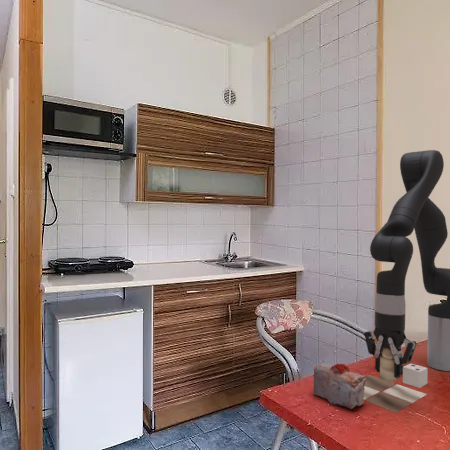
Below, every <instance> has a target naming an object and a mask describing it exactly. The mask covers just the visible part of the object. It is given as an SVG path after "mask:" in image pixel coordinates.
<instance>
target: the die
mask: <svg viewBox="0 0 450 450" xmlns="http://www.w3.org/2000/svg"><path fill="white" fill-rule="evenodd" d="M428 370H429V369H428V367H425V366H421V365H418V364H414V363H407V365H403V375H402V383H403V384H406V385H409V386H412V387H414V388H419V389H420V388H423V387H424V386H426V385H428Z"/></svg>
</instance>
